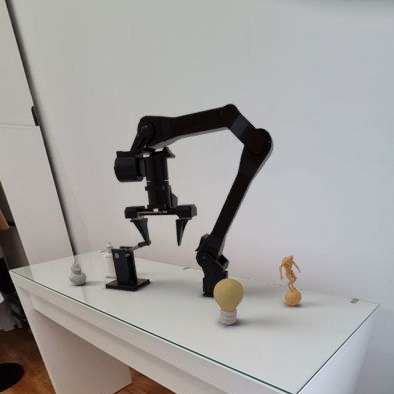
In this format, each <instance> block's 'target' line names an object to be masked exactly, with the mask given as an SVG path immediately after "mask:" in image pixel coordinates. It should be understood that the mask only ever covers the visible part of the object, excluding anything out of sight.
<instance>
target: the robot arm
mask: <svg viewBox="0 0 394 394" xmlns="http://www.w3.org/2000/svg"><path fill="white" fill-rule="evenodd" d="M227 130H228V131H230V132H231V134H233V136H234V137H235V138H236V139H237V140H239V142H240V143H241V144H242V145H243V148H242V151H241V154H240V159H239V164H238V168H237V173H236V175H235V178H234V180H233V182H232V184H231V187H230V190H229V191H228V193H227V196H226V198H225V200H224V203H223V205H222V207H221V208H220V212H219V213H218V216H217V218H216V220H215V223H214V225H213V227H212V230H211V232H210V233H207V232H206V233H204V234H203V235H202V236H200V239H199V243H198V246H197V248H196V249H195V250H194V252H196V253H195V260H196V263H197V265H198V266H199V267H200V268H201V270H202V273H203V277H202V292H203V294H202V296H203V297H213V298H214V288H215V286H216V284H217V283H218V282H220V281H221V280H223V279H228V278H229V270H227V269H228V268H229V264H230V260H229V259H228V258H227V256H225V255H224V254H223V252H224V249H225V245H226V239H227V235H228V233H229V231H230V229H231V227H232V225H233V223H234V221H235V219H236V217H237V215H238V212H239V210H240V208H241V206H242V204H243V202H244V200H245V198H246V196H247V194H248V192H249V190H250V188H251V185H252V183H253V181H254V180H255V179H256V177H257V176H258V174H259V173H260V171H261V170H262V169H263V167H264V166H265V165H266V163H267V161H268V160H269V159H270V157H271V156H272V154H273V152H274V148H275V147H274V140H273V137H272V135H271V134H270V132H269V131H268V130H267V129H266V128H262V127H256V126H254V124H253V123H252V122H251V121H250V120H249V119H248V118H246V116H245V115H244V114H243V113H242V112H241V111H240V110H239V108H238V107H237V106H236V104H234V103H227V104H225V105H223V106H219V107H215V108H210V109H209V108H208V109H205V110H200V111H196V112H191V113H187V114H182V115H177V116H165V115H143V116H142V117H140V118H139V121H138V123H137V126H136V135H135V136H134V139H133V142H132V144H131V147H130V149H129V150H116V151H115V154H116V155H115V156H116V157H115V159H114V164H113V171H114V175H115V178H116V180H117V181H118V182H119V183H121V184H126V183H140V182H143V181H144V178H145V183H146V184H145V185H144V191H145V192H147V201H148V204H146V205H131V206H125V208H124V210H123V213H124V214H123V215H124V219H126V220H129V222H130V223H132V224H133V226H135V228H136V229H137V231H138V232H139V234H140V237H142V240H143V241H145V243H146V244H147V246H146V247H150V246H151V244H150V240H151V239H150V232H149V227H148V222H149V217H145V216H177V217H178V218H176V219H175V233H176V244H177V247H180V246H181V245H182V240H183V237H184V233H185V229H186V227H187V224H188V223H189V221H192V220H193V218H194V217H197V216H198V208H197V206H196V204H195V203H188V204H187V203H185V204H184V203H183V204H178V203H179V197H178V196H177V195H176V194H174V193H173V191H172V185H171V184H170V179H169V165H168V160H171V159H173V160H174V159H176V157H177V156H176V154H175V153H173V151H172V150H171V149H170V147H169V146H171V145H173V144H174V143H176V142H177V141H179V140H182V139H187V138H191V137H196V136H201V135H206V134H211V133H212V134H213V133H217V132H223V131H227ZM155 210H157V211H155Z"/></svg>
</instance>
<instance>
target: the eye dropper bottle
mask: <svg viewBox="0 0 394 394" xmlns="http://www.w3.org/2000/svg"><path fill="white" fill-rule="evenodd" d="M113 248H114V245H113V244H111V241H109V240H108V241H107V244H106V245H105V249H106V252H105V253H104V254H103V256H102V258H103V263H104V269H105V273H106V276H107V278H112V279H117V278H116V273H115V268H114V262H113V257H112V251H111V249H113Z"/></svg>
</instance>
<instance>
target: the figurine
mask: <svg viewBox="0 0 394 394" xmlns="http://www.w3.org/2000/svg"><path fill="white" fill-rule="evenodd" d="M293 265H294V267H295V268H296V269H297V270H298V273H299V274H301V273H302V272H301V269H300V268H299V266H298V265H297V264H296V262H295V260H294V256H293V255H292V254H291V255H290V256H285V257H283V258H282V260H281V264H280V265H279V267H278V269H279V278H280V280H284V278H286V279H287V280H288V281H287V282H286V284H287V288H288V291H287V292H286V293H285V294H284V302H285V303H286V304H287V305H289V306H291V307H293V306H297V305H298V304H299V303H300V302H301V301H302V293H301V291H299V290H298V289H297V288H296V287H295V286H294V283H295V282H296V281H297V280H298V277H297V276H296V274H295V272H294V270H293V269H292V268H293ZM282 268H283V269H284V270H285V274H284V276H285V277H284V276H283V270H282Z"/></svg>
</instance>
